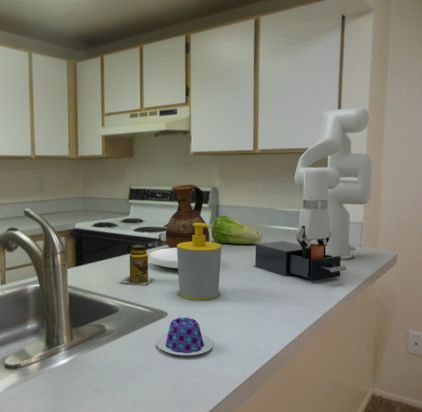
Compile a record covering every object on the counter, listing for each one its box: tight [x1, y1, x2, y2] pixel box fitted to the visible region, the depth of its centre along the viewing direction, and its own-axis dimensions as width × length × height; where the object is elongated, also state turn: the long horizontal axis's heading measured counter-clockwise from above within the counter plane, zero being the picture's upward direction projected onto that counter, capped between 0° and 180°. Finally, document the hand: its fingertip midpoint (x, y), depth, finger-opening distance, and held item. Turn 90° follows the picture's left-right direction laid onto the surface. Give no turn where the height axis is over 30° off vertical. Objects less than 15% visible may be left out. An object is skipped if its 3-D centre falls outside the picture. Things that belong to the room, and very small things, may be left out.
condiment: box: [121, 244, 152, 286], centre depth 136 cm, size 7×8×12 cm
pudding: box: [155, 317, 214, 356], centre depth 86 cm, size 12×12×5 cm
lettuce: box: [211, 214, 263, 245], centre depth 201 cm, size 14×24×14 cm
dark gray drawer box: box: [254, 240, 302, 277], centre depth 150 cm, size 16×14×9 cm
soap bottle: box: [177, 222, 222, 301], centre depth 121 cm, size 13×13×21 cm
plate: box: [148, 247, 178, 269], centre depth 157 cm, size 28×6×27 cm
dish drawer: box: [287, 252, 347, 282], centre depth 137 cm, size 19×12×7 cm, turn 25°
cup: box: [309, 243, 324, 260], centre depth 137 cm, size 6×6×5 cm
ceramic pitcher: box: [165, 184, 210, 248], centre depth 186 cm, size 20×20×30 cm
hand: (313, 257), depth 138 cm, fingers closed on cup, 6 cm apart
